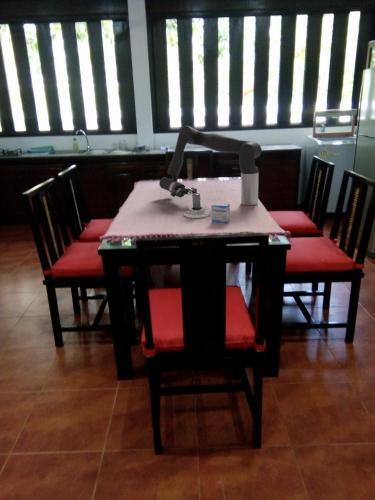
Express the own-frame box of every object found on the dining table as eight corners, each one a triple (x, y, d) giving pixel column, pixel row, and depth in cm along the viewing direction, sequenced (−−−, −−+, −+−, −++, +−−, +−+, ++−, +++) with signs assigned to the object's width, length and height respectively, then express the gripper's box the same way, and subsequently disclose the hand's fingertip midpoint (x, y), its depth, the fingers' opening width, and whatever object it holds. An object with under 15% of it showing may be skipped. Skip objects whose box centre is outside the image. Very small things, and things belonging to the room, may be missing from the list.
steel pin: (193, 212, 207) (192, 193, 203) (201, 211, 206) (200, 193, 202) (192, 214, 203) (191, 195, 199) (200, 214, 202) (199, 195, 199)
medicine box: (211, 222, 190) (211, 205, 187) (214, 220, 194) (214, 202, 191) (227, 223, 187) (227, 206, 184) (230, 221, 191) (229, 203, 188)
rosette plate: (185, 211, 212) (185, 205, 211) (211, 210, 210) (211, 204, 209) (182, 218, 199) (181, 212, 198) (209, 218, 197) (209, 211, 196)
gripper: (165, 184, 222) (175, 189, 208) (188, 181, 226) (200, 186, 212) (166, 197, 224) (176, 203, 210) (189, 193, 229) (200, 199, 215)
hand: (188, 194), depth 211 cm, fingers open, 8 cm apart
